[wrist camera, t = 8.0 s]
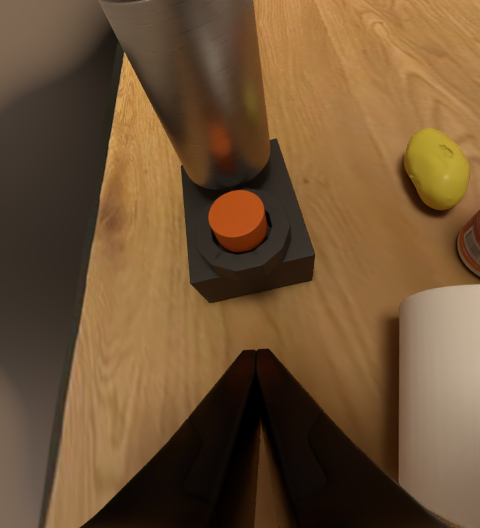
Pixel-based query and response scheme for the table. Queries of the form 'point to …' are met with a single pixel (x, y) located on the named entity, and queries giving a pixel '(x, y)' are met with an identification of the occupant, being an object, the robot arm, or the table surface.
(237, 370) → the robot arm
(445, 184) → the lemon
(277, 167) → the push button box
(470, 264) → the pill bottle
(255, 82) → the silver metal canister
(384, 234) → the table surface
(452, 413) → the mug
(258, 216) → the switch
